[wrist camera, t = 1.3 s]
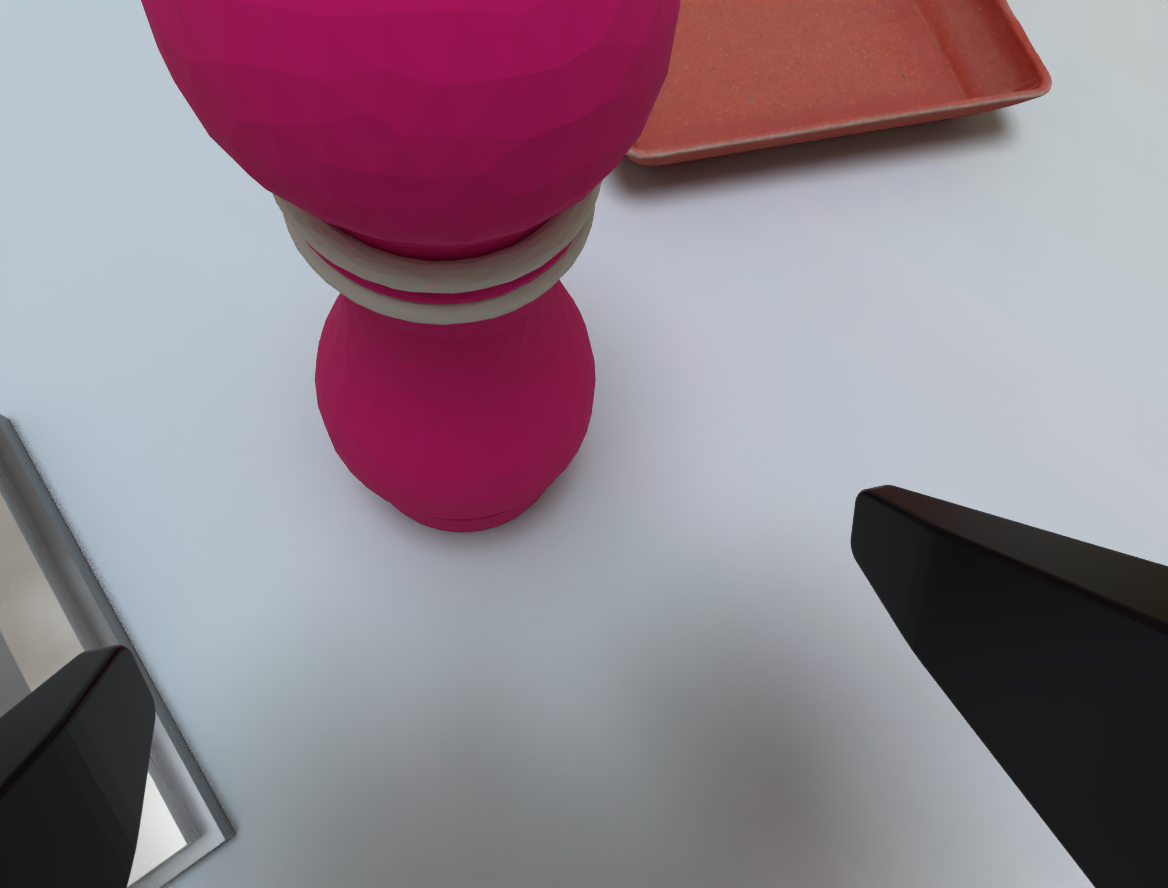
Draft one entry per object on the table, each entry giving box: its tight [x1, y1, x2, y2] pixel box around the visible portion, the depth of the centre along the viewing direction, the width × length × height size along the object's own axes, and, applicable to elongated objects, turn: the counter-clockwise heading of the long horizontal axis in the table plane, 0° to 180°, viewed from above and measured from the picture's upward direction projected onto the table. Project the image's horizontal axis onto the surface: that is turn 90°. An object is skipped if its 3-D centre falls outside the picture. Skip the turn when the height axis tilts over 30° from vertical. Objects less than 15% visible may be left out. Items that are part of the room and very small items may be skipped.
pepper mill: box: [141, 0, 680, 532], centre depth 14 cm, size 7×7×20 cm
